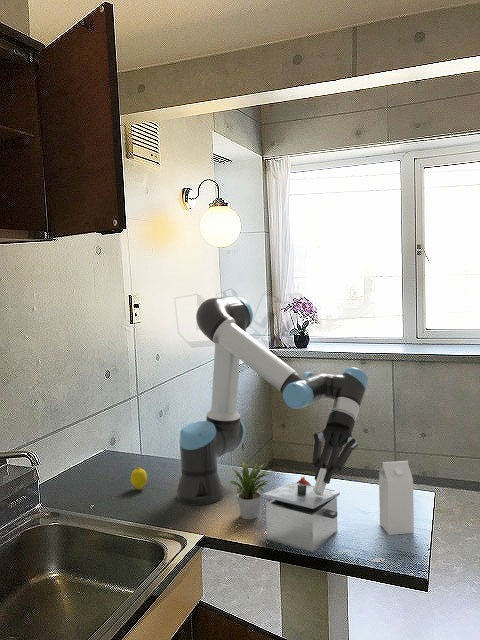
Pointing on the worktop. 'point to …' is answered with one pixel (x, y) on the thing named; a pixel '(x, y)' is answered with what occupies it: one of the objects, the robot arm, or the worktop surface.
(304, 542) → the white hinged box
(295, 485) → the lid
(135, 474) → the fruit
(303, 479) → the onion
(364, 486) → the worktop surface
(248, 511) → the house plant
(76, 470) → the worktop surface
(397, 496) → the milk carton
